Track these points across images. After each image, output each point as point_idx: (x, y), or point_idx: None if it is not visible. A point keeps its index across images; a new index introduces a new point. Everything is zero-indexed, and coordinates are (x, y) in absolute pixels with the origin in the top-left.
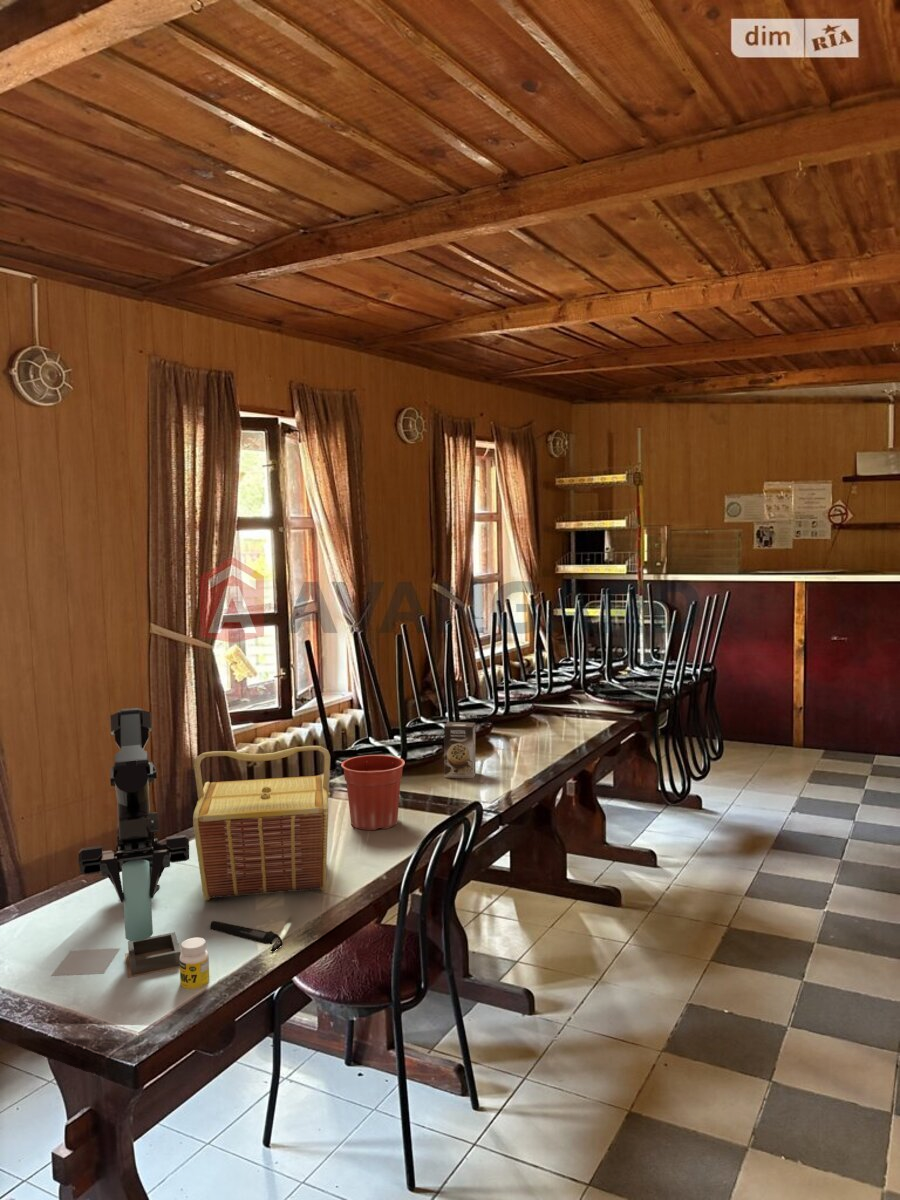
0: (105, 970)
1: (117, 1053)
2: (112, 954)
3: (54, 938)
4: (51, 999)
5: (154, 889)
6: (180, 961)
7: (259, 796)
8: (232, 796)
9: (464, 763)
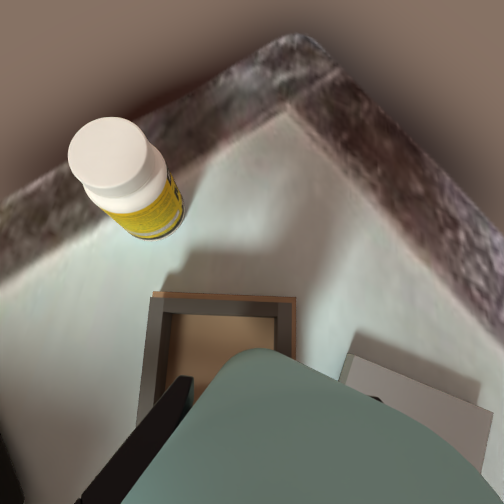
0: (350, 369)
1: (326, 66)
2: None
3: None
4: (465, 322)
5: (154, 405)
6: (166, 168)
7: None
8: None
9: None
